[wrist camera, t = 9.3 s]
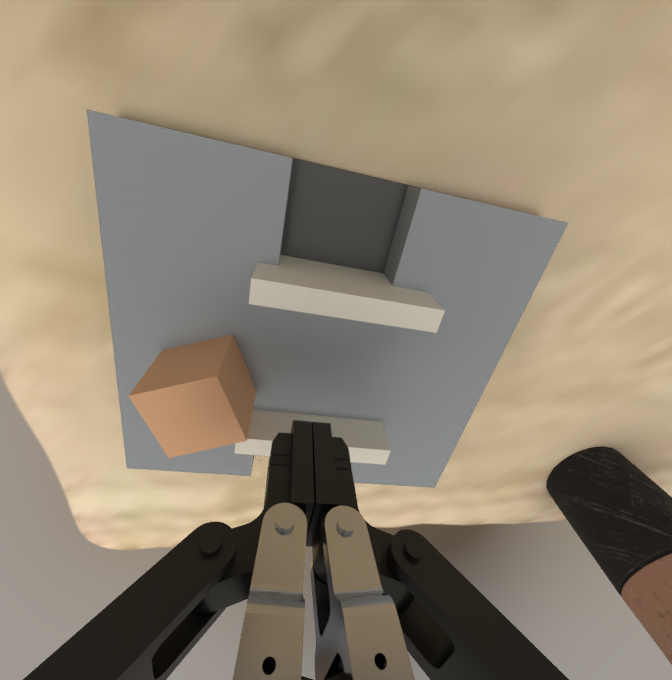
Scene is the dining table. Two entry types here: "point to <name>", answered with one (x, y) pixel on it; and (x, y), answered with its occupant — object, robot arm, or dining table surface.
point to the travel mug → (622, 531)
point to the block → (197, 396)
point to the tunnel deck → (309, 294)
